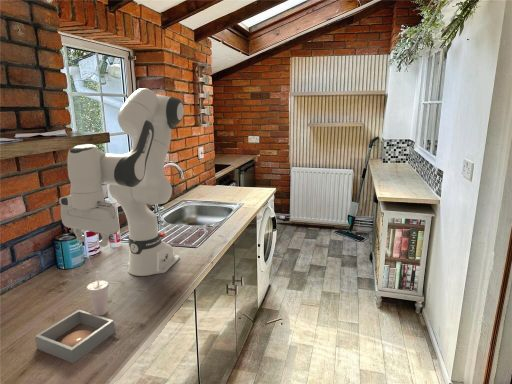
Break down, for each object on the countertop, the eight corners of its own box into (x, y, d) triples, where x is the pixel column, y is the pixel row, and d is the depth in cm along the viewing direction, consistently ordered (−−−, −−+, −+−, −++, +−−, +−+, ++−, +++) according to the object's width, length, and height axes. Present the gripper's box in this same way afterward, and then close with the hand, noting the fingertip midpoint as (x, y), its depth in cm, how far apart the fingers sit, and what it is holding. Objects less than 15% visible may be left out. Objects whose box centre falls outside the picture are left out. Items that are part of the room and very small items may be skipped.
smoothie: (114, 306, 115) (110, 267, 112) (107, 317, 109) (102, 277, 106) (94, 306, 115) (90, 268, 112) (86, 318, 109) (81, 277, 106)
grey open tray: (80, 320, 108) (79, 309, 107) (114, 332, 102) (113, 320, 101) (37, 348, 95) (35, 336, 94) (73, 363, 90) (71, 350, 89)
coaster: (79, 328, 104) (79, 327, 104) (99, 335, 101) (98, 334, 101) (54, 345, 97) (54, 343, 96) (75, 353, 93) (75, 351, 93)
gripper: (122, 201, 102) (125, 245, 105) (73, 194, 110) (77, 235, 113) (105, 206, 97) (109, 252, 100) (54, 198, 105) (60, 241, 108)
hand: (92, 243), depth 106 cm, fingers open, 8 cm apart
